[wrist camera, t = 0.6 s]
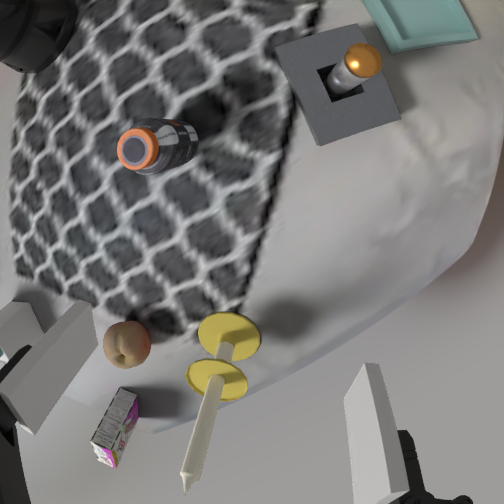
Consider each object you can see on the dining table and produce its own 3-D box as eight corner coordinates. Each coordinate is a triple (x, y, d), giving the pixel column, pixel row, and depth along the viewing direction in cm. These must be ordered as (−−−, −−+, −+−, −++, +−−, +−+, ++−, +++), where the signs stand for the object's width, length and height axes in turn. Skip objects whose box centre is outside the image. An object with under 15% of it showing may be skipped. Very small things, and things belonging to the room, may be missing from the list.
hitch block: (275, 56, 29) (274, 48, 25) (350, 33, 26) (357, 23, 23) (316, 144, 33) (320, 146, 29) (389, 119, 30) (401, 119, 26)
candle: (199, 305, 43) (127, 463, 19) (265, 318, 43) (239, 492, 18) (197, 353, 47) (144, 493, 23) (255, 364, 47) (230, 515, 22)
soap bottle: (45, 334, 53) (-2, 386, 35) (25, 330, 54) (-19, 377, 37) (29, 302, 50) (-24, 351, 32) (11, 300, 51) (-38, 344, 33)
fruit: (159, 351, 49) (143, 382, 41) (121, 342, 49) (101, 370, 42) (154, 316, 45) (135, 347, 38) (113, 307, 46) (90, 334, 39)
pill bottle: (196, 116, 33) (159, 111, 22) (201, 162, 35) (167, 175, 25) (153, 124, 34) (104, 126, 23) (158, 168, 36) (112, 185, 26)
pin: (319, 79, 29) (339, 47, 17) (340, 72, 29) (372, 39, 16) (329, 100, 30) (355, 80, 18) (350, 93, 30) (387, 71, 17)
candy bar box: (140, 418, 60) (116, 469, 45) (121, 410, 60) (96, 460, 45) (139, 394, 55) (111, 451, 40) (119, 385, 55) (88, 440, 40)
